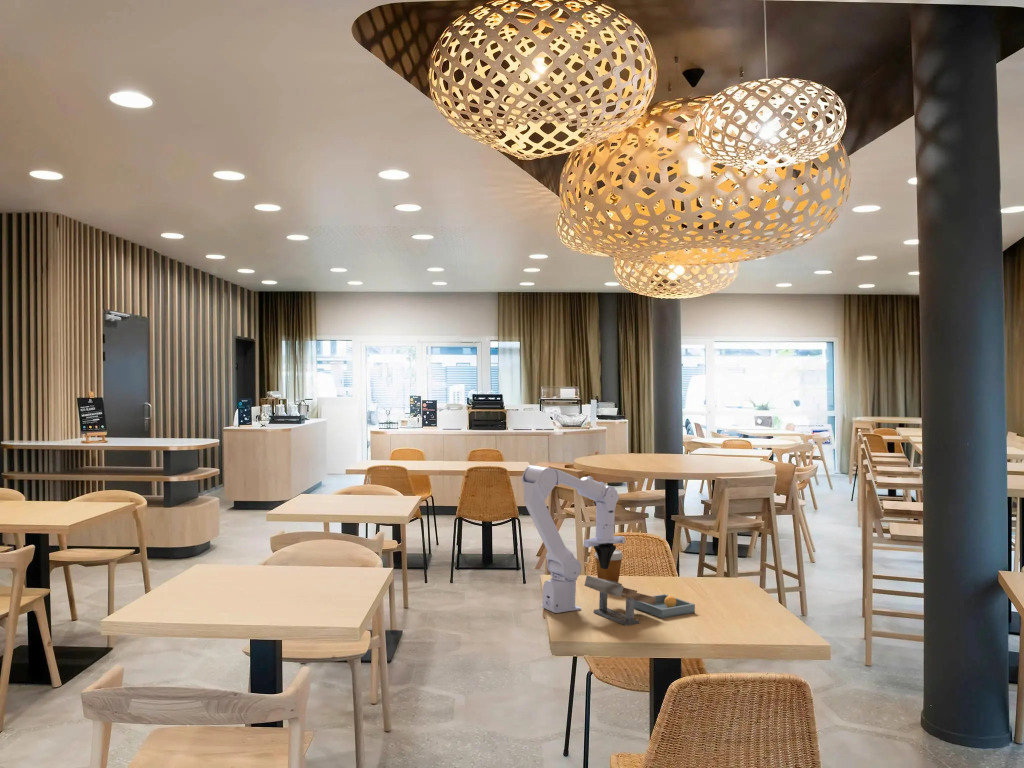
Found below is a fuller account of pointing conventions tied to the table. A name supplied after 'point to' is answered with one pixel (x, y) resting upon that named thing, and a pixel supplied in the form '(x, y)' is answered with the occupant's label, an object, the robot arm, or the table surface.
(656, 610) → the tray
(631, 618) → the chute stand
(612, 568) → the disposable coffee cup
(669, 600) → the ball
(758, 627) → the table surface
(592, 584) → the chute
